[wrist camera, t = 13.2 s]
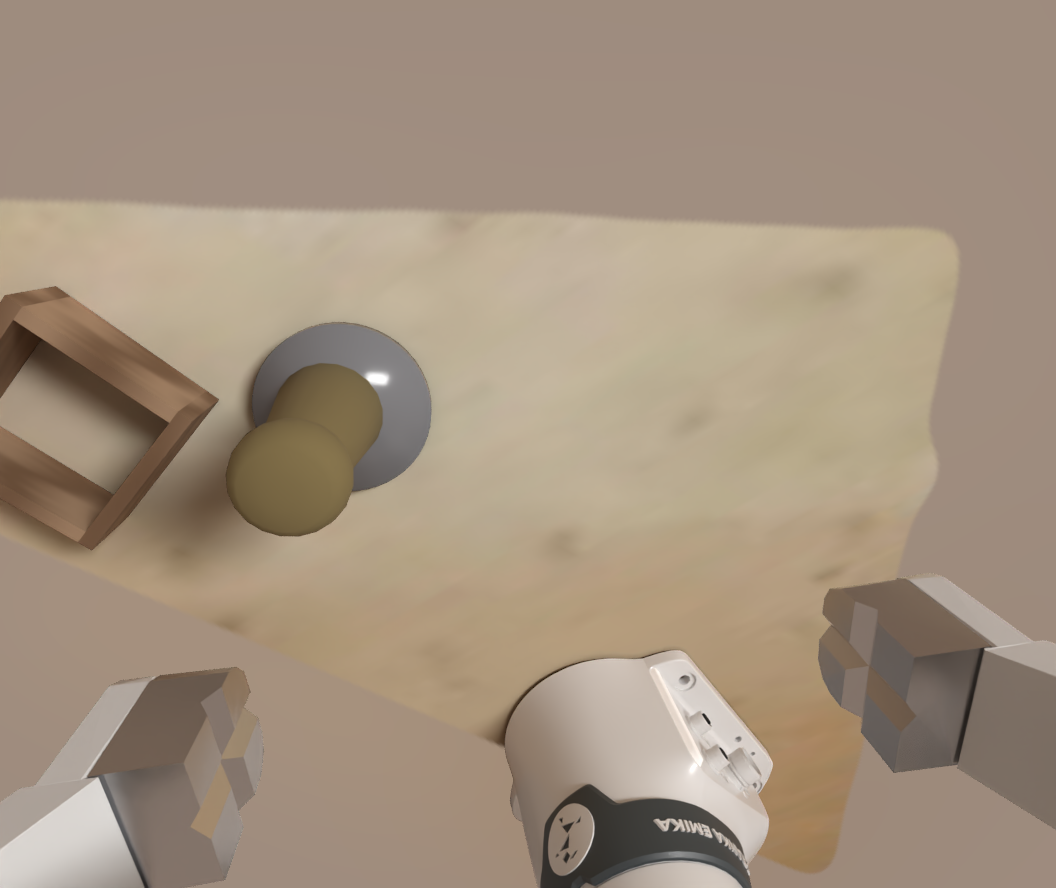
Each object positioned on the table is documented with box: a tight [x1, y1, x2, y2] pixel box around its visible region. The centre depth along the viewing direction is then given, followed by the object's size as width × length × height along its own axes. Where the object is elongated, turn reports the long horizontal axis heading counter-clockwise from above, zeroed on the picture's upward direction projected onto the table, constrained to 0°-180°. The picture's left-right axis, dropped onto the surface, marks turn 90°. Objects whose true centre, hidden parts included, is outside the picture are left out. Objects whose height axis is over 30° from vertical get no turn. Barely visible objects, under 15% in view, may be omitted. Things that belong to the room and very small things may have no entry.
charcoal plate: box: [252, 322, 432, 491], centre depth 36 cm, size 10×10×1 cm
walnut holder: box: [0, 286, 219, 550], centre depth 33 cm, size 10×10×4 cm
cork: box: [226, 363, 383, 536], centre depth 30 cm, size 6×6×11 cm
